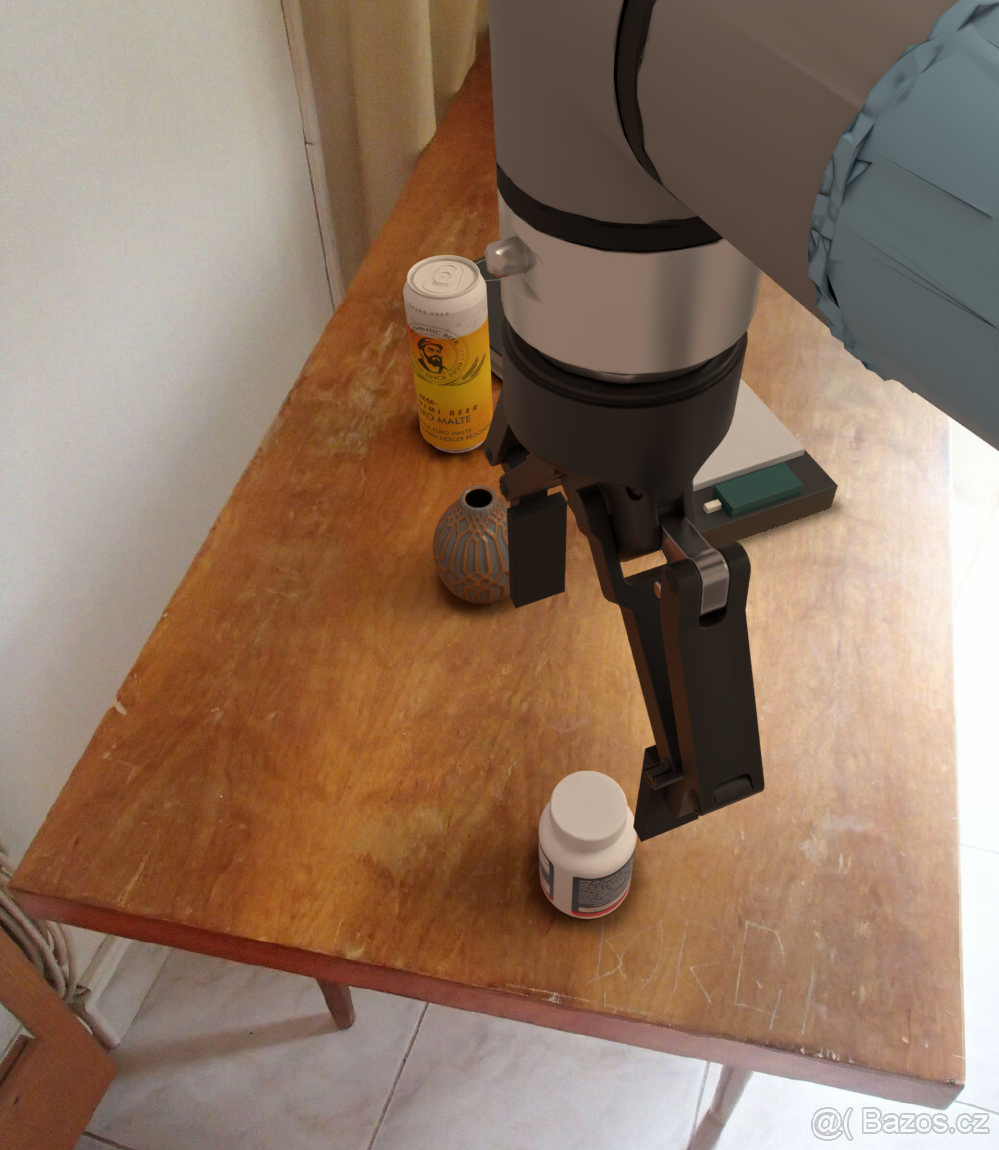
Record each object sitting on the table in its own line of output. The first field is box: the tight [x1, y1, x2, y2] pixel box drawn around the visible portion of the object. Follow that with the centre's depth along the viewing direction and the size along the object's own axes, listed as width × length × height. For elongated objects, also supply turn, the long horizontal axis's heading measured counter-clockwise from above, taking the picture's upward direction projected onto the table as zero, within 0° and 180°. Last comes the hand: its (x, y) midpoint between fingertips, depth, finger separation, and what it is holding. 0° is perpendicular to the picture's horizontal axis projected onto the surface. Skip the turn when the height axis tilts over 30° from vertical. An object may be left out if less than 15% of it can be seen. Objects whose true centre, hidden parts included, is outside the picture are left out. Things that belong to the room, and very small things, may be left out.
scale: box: [693, 378, 839, 548], centre depth 77 cm, size 14×12×3 cm
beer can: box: [402, 254, 494, 454], centre depth 77 cm, size 6×6×15 cm
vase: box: [432, 484, 510, 605], centre depth 69 cm, size 7×7×9 cm
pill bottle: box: [537, 770, 638, 920], centre depth 54 cm, size 5×5×9 cm
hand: (595, 699), depth 46 cm, fingers open, 13 cm apart
